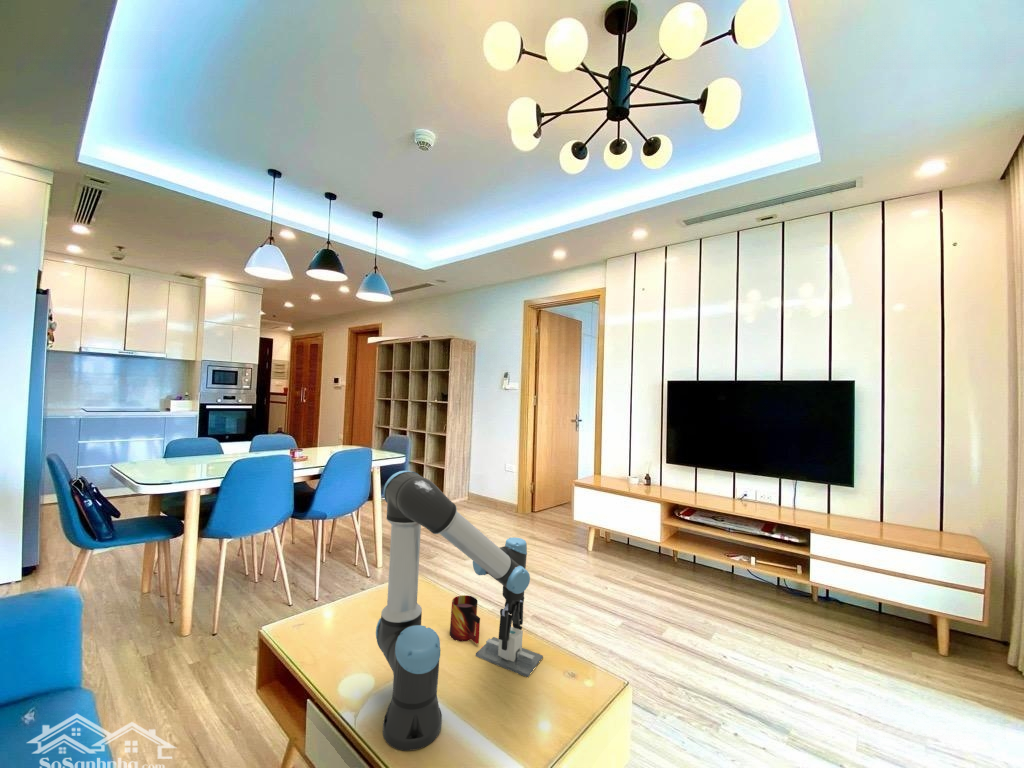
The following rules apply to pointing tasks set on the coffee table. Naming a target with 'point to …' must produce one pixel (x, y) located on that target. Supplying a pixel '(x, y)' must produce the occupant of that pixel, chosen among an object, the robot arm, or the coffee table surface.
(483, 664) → the coffee table surface
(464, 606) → the mug
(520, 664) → the rail plate
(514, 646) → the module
